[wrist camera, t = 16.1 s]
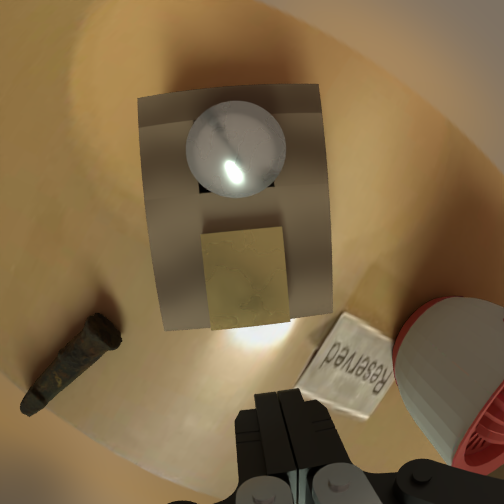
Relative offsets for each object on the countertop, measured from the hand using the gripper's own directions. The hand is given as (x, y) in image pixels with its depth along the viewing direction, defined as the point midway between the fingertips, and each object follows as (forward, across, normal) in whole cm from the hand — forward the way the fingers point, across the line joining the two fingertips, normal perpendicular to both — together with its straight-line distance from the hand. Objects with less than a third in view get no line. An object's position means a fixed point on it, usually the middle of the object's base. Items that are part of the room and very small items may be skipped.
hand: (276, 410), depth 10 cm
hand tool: (+20, +21, +10) cm, 31 cm away
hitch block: (+20, 0, -6) cm, 21 cm away
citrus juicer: (+20, -22, +11) cm, 32 cm away
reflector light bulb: (+19, 0, -9) cm, 21 cm away
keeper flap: (+11, 0, -1) cm, 11 cm away
